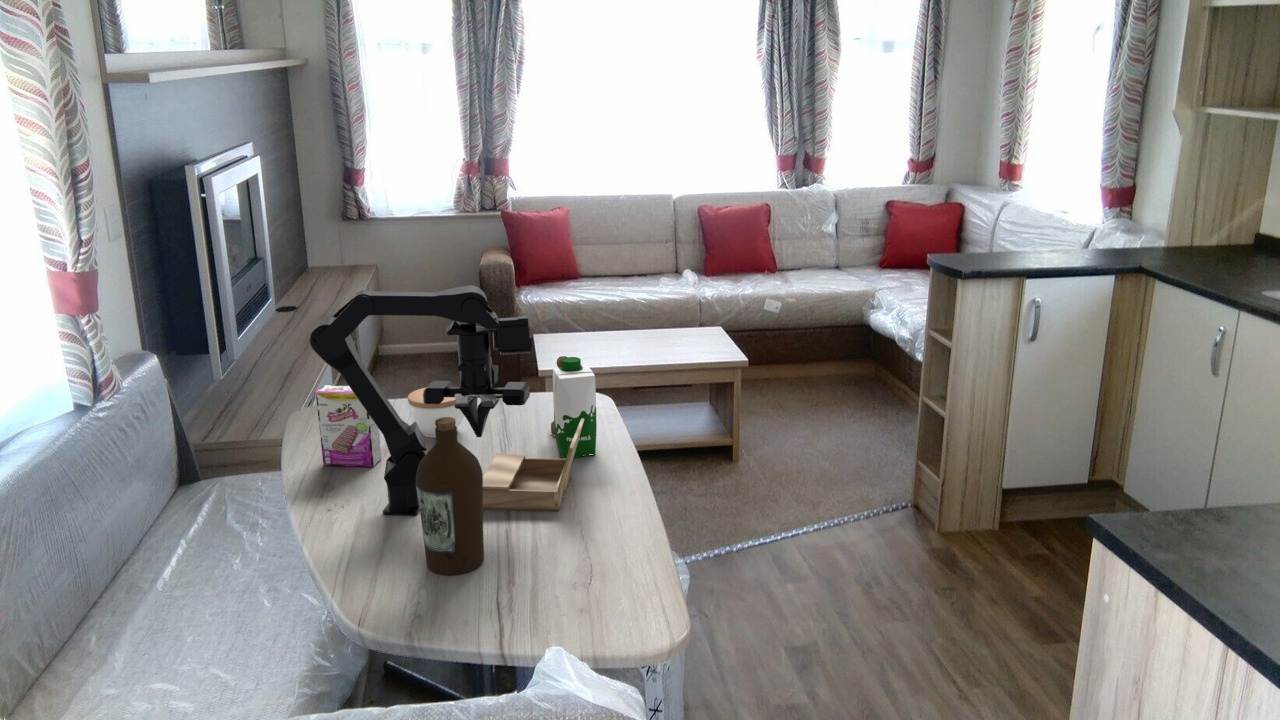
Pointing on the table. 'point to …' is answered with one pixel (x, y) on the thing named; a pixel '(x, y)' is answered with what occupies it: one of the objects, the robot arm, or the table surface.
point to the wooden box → (531, 487)
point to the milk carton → (574, 406)
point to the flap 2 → (570, 454)
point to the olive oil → (451, 503)
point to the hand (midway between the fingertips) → (479, 436)
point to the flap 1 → (502, 471)
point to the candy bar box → (346, 429)
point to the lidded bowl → (432, 412)
